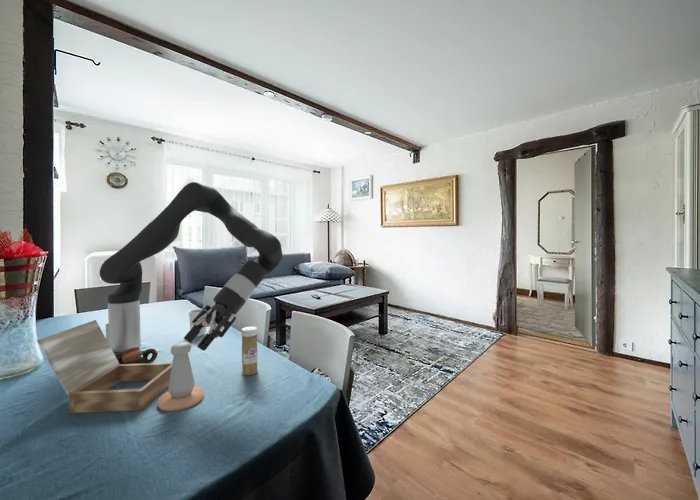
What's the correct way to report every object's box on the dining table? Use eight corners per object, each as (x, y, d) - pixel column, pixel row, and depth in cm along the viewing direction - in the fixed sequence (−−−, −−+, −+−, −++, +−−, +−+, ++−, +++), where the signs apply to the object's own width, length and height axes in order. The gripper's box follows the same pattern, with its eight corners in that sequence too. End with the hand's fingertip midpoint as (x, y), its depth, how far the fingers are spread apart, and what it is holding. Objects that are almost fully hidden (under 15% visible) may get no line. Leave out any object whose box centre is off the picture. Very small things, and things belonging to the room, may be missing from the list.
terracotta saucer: (148, 412, 68) (148, 407, 68) (171, 390, 78) (171, 386, 78) (193, 410, 69) (193, 406, 69) (210, 388, 79) (210, 385, 79)
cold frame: (39, 414, 67) (36, 339, 67) (95, 380, 83) (92, 319, 83) (142, 410, 69) (140, 336, 68) (177, 377, 85) (175, 318, 84)
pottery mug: (111, 385, 82) (102, 357, 83) (118, 387, 89) (109, 361, 91) (161, 363, 89) (152, 338, 90) (163, 366, 96) (154, 343, 98)
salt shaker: (176, 403, 70) (174, 349, 69) (163, 397, 73) (162, 345, 72) (199, 392, 75) (198, 342, 74) (187, 386, 78) (185, 338, 77)
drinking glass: (210, 333, 125) (210, 310, 125) (195, 338, 119) (194, 313, 119) (201, 330, 128) (201, 308, 128) (186, 335, 123) (185, 311, 123)
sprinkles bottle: (248, 377, 85) (247, 331, 85) (238, 373, 88) (238, 328, 88) (261, 371, 89) (260, 327, 89) (251, 367, 92) (251, 324, 91)
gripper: (214, 282, 86) (171, 331, 78) (239, 288, 77) (193, 343, 69) (232, 298, 90) (193, 345, 82) (257, 305, 81) (216, 359, 73)
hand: (193, 344), depth 75 cm, fingers open, 8 cm apart
